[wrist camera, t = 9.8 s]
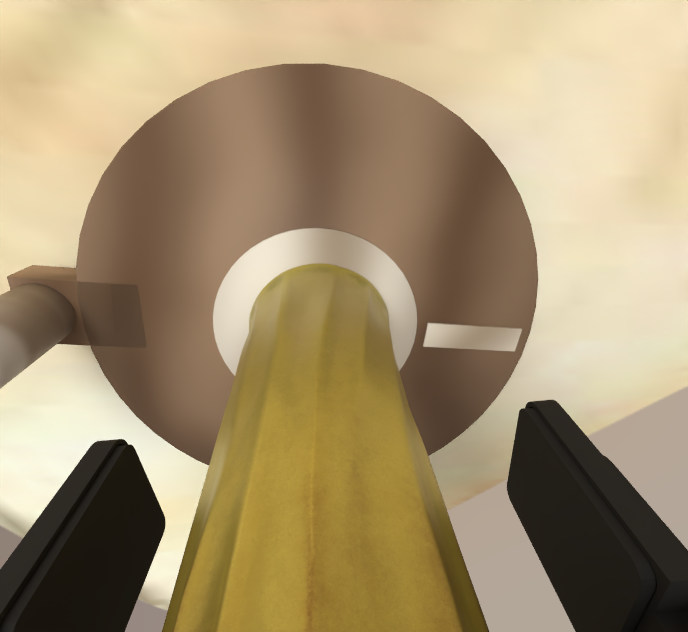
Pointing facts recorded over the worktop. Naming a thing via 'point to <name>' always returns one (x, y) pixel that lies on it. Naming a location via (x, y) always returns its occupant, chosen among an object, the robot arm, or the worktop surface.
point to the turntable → (288, 246)
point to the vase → (321, 482)
